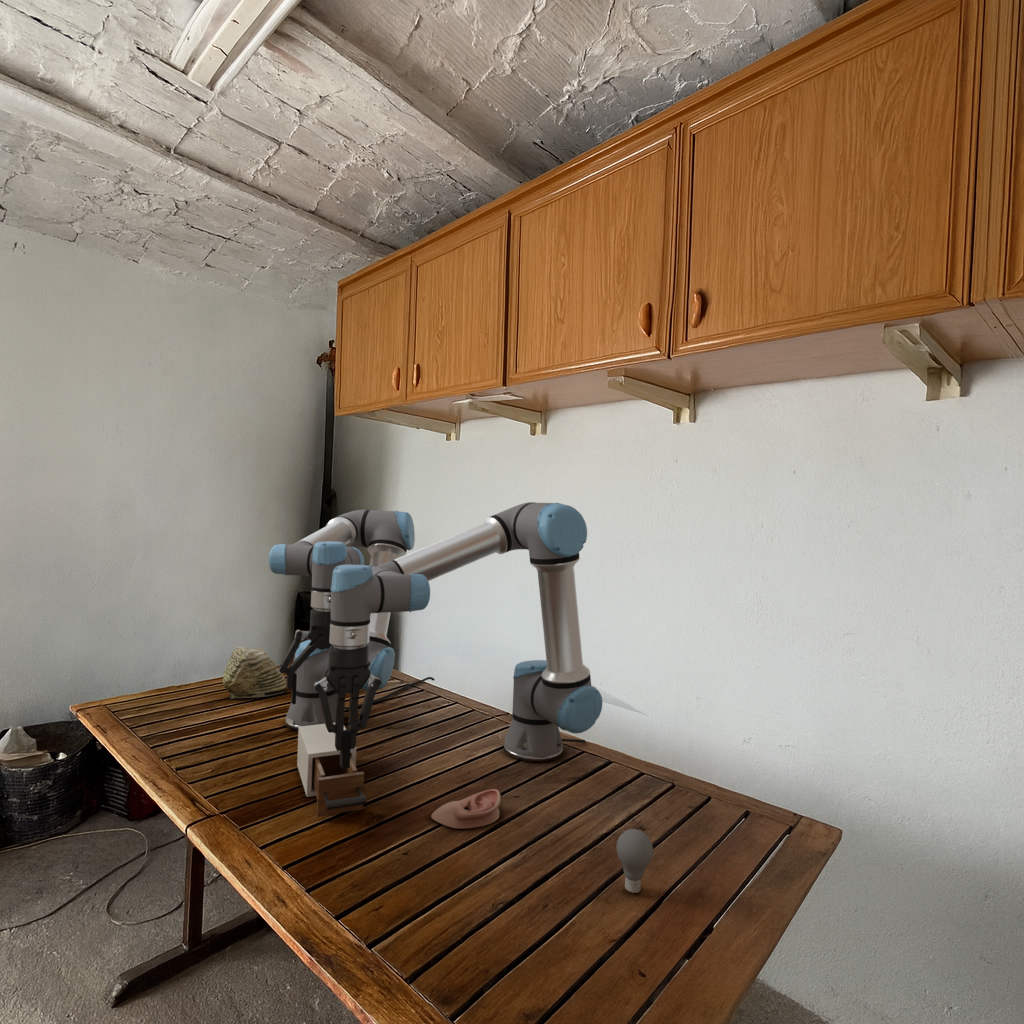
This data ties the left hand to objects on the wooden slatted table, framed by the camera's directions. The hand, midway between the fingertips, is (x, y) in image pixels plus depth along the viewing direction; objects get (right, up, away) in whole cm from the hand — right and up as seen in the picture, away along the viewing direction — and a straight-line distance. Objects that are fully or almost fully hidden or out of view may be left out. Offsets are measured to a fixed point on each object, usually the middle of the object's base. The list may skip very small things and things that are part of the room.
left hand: (324, 699), depth 147 cm
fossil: (-37, -14, +51) cm, 64 cm away
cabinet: (+1, -16, -4) cm, 17 cm away
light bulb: (+64, -20, -41) cm, 78 cm away
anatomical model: (+34, -18, -19) cm, 43 cm away
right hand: (+11, -6, -24) cm, 27 cm away
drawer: (+8, -16, -17) cm, 25 cm away
